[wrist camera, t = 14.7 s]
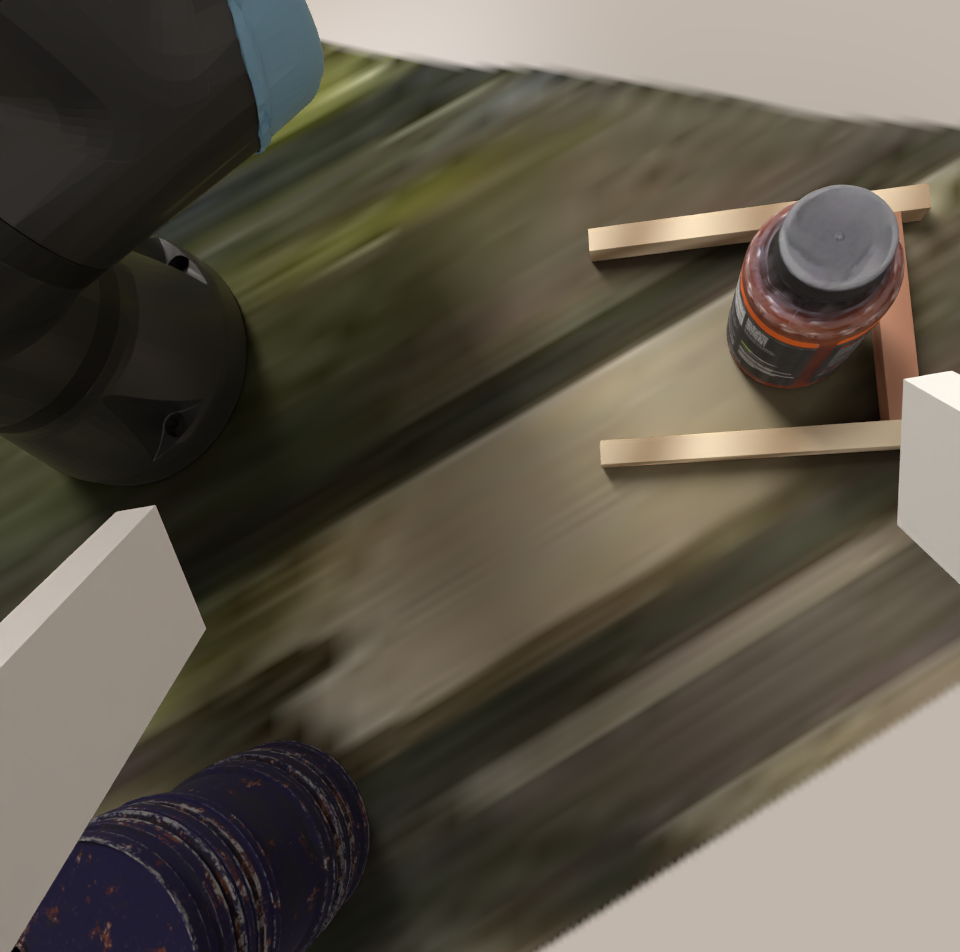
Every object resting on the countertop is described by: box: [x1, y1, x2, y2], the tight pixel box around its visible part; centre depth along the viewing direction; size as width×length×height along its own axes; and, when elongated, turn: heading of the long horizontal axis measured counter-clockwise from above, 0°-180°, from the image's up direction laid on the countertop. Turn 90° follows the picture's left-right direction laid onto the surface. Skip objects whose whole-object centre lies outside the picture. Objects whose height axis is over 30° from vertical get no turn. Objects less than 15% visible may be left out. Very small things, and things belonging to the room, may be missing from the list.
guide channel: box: [588, 183, 931, 468], centre depth 37 cm, size 16×12×1 cm
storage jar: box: [11, 740, 370, 952], centre depth 33 cm, size 10×10×15 cm
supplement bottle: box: [727, 185, 905, 388], centre depth 31 cm, size 6×6×11 cm
